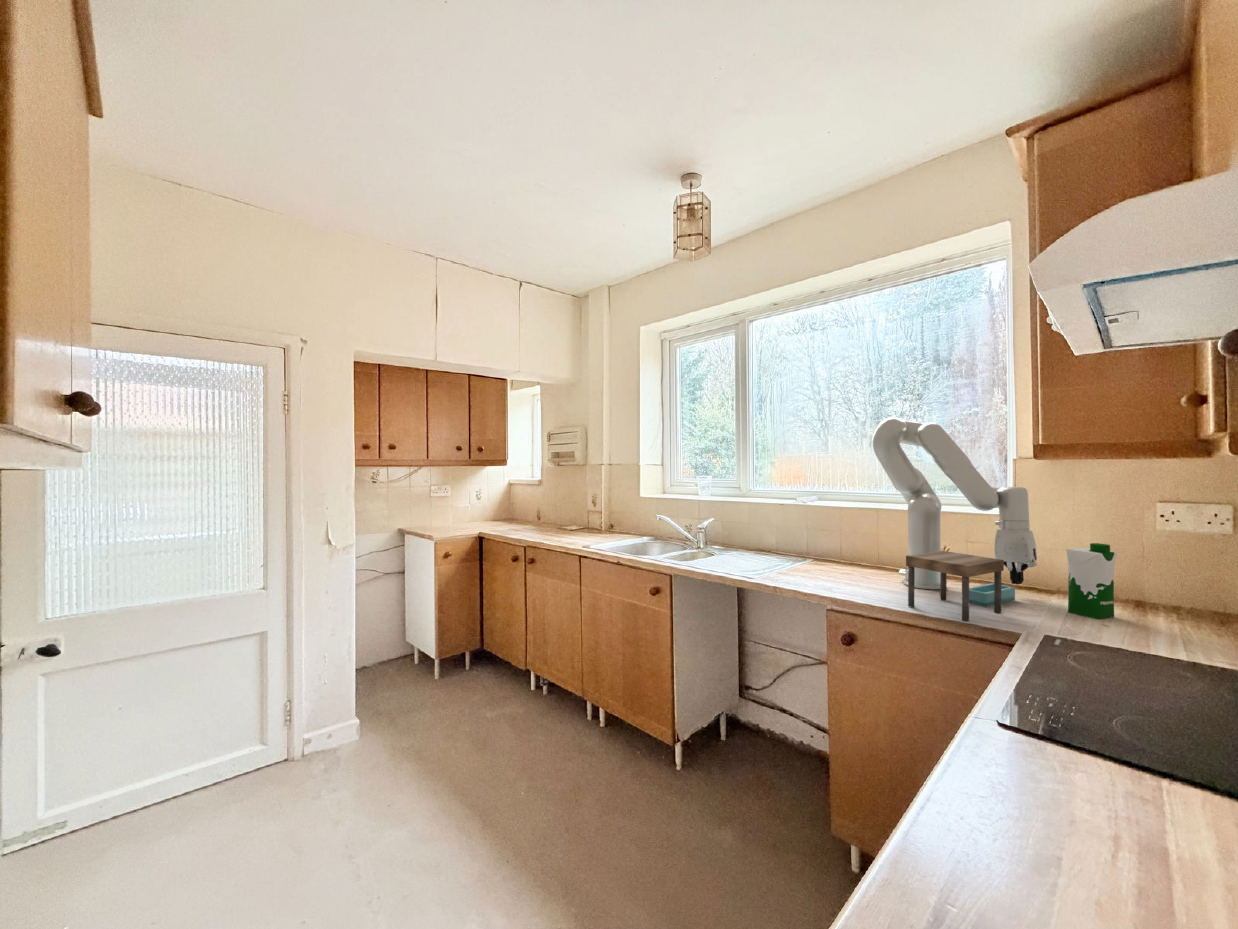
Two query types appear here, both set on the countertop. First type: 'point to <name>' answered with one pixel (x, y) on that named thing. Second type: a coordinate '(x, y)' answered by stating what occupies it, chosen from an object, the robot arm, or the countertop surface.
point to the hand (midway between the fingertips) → (1017, 583)
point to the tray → (990, 595)
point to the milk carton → (1091, 581)
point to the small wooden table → (956, 573)
